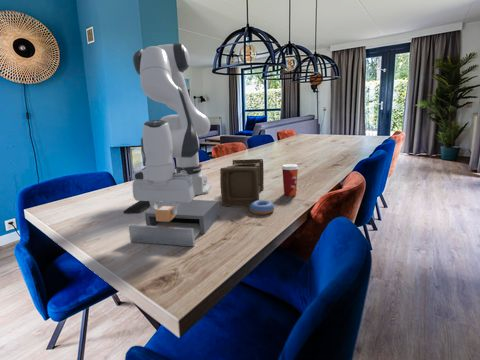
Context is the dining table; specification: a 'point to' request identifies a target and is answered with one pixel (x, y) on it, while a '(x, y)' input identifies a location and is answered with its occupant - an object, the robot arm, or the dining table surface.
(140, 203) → the phone
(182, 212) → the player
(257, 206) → the doughnut
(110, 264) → the dining table surface
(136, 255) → the dining table surface
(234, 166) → the ornamental box
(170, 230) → the tray
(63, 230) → the dining table surface
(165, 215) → the block
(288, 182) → the paper cup
